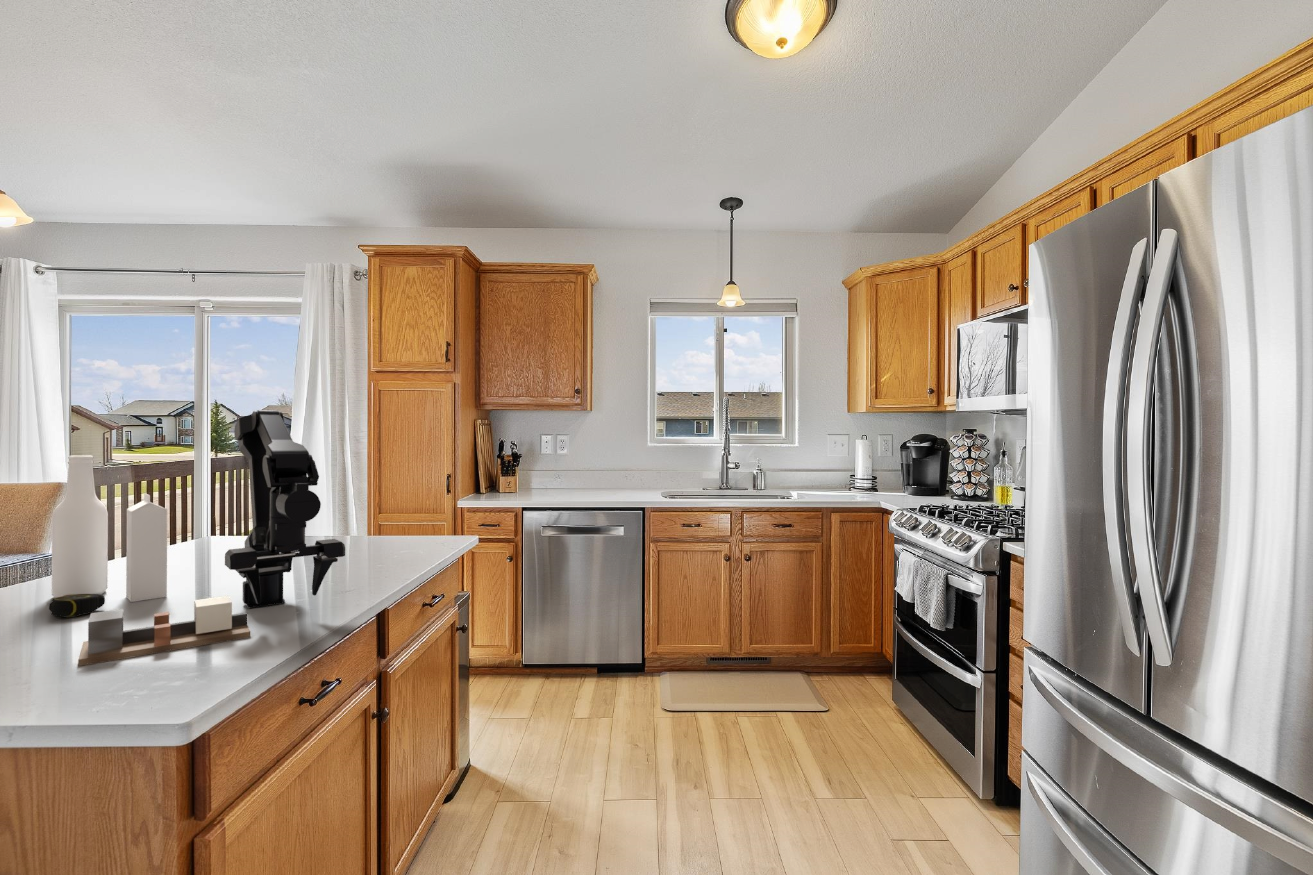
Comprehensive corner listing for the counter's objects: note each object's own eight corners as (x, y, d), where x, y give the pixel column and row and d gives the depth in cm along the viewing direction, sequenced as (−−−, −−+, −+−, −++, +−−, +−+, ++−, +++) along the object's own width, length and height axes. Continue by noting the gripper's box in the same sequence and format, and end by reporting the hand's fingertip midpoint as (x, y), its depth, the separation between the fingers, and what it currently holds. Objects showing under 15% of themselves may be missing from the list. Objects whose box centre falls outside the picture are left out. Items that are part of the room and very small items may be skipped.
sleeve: (228, 620, 112) (228, 595, 112) (231, 628, 108) (231, 602, 108) (194, 626, 109) (194, 600, 109) (196, 634, 105) (196, 607, 105)
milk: (130, 602, 128) (130, 496, 128) (126, 596, 132) (125, 493, 132) (167, 596, 133) (167, 494, 132) (162, 591, 137) (161, 491, 136)
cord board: (243, 622, 116) (243, 590, 116) (250, 637, 108) (250, 602, 108) (83, 647, 102) (83, 611, 102) (78, 666, 94) (78, 626, 94)
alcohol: (97, 587, 139) (98, 454, 139) (114, 593, 135) (115, 455, 134) (44, 596, 131) (45, 455, 131) (60, 602, 127) (61, 456, 127)
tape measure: (107, 609, 123) (107, 591, 123) (82, 620, 117) (82, 600, 117) (67, 611, 122) (67, 592, 122) (39, 621, 115) (39, 601, 115)
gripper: (328, 507, 128) (328, 583, 128) (219, 515, 115) (219, 599, 115) (346, 513, 120) (345, 594, 120) (231, 522, 107) (230, 612, 107)
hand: (287, 599), depth 116 cm, fingers open, 9 cm apart
